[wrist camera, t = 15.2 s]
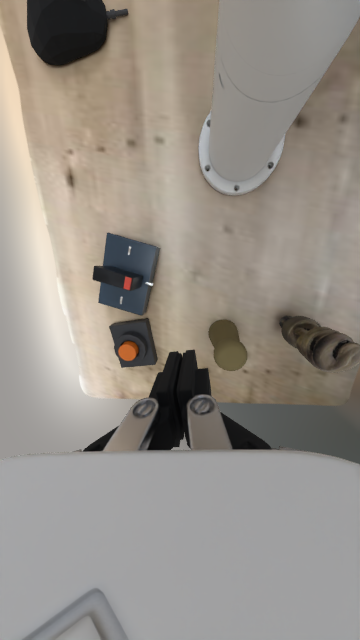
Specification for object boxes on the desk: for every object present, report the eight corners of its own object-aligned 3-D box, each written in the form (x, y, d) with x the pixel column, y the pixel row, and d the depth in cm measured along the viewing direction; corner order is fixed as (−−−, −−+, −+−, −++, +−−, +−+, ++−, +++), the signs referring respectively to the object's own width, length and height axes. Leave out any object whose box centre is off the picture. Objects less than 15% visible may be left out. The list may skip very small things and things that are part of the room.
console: (110, 233, 34) (101, 230, 31) (164, 249, 33) (160, 248, 30) (102, 298, 38) (93, 301, 35) (150, 312, 37) (145, 317, 34)
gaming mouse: (133, 44, 25) (121, 6, 22) (42, 74, 28) (17, 43, 24) (123, -21, 24) (108, -75, 20) (27, 15, 26) (-2, -27, 22)
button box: (113, 323, 39) (104, 329, 35) (148, 318, 38) (142, 324, 34) (125, 362, 42) (117, 372, 38) (157, 359, 41) (153, 369, 37)
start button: (119, 341, 36) (116, 345, 35) (136, 339, 36) (133, 343, 34) (124, 357, 37) (120, 361, 36) (140, 355, 37) (137, 360, 35)
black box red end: (107, 277, 33) (91, 279, 28) (109, 265, 32) (93, 265, 27) (140, 287, 33) (130, 291, 28) (143, 275, 32) (132, 277, 27)
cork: (235, 347, 38) (248, 379, 27) (206, 344, 38) (209, 374, 28) (240, 321, 36) (256, 344, 25) (210, 317, 36) (214, 339, 26)
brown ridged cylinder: (305, 310, 34) (382, 344, 20) (296, 336, 36) (360, 385, 21) (275, 306, 34) (329, 336, 20) (267, 332, 36) (312, 377, 22)
